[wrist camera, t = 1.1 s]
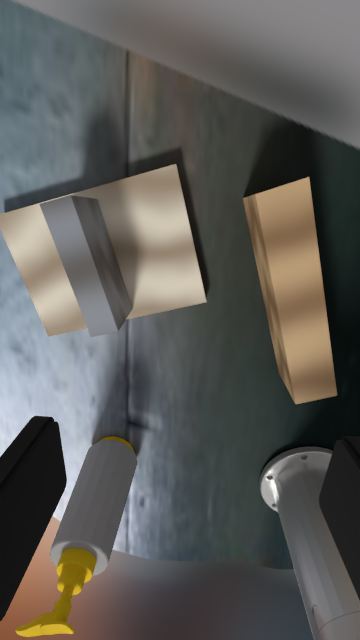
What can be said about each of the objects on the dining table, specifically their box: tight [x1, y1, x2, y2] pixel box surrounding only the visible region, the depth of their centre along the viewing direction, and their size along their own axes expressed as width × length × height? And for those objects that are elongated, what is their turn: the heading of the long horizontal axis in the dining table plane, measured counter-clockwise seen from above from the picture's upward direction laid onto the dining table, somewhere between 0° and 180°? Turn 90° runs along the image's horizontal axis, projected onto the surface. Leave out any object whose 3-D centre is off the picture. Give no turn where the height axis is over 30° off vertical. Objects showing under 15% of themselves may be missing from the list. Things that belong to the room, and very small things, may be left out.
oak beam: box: [243, 177, 337, 404], centre depth 27 cm, size 20×4×6 cm, turn 17°
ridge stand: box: [0, 164, 206, 337], centre depth 26 cm, size 13×18×8 cm
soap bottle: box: [16, 436, 137, 637], centre depth 30 cm, size 7×7×18 cm
